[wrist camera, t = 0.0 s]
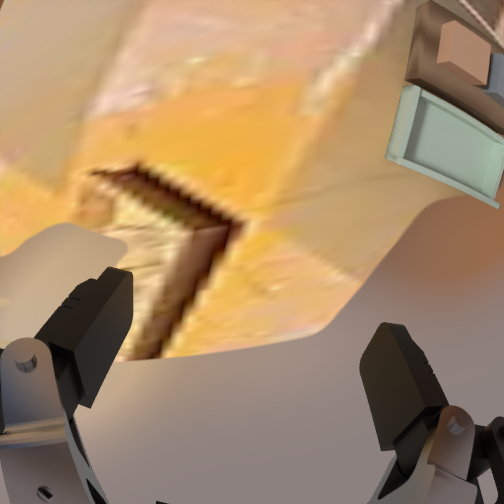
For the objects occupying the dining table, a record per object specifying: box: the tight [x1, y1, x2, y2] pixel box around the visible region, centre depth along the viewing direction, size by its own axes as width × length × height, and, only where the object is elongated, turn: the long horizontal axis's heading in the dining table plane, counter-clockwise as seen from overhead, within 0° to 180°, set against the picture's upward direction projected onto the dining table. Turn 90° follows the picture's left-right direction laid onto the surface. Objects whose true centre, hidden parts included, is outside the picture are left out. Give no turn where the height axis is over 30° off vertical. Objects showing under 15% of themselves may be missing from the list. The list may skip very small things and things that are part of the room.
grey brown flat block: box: [405, 0, 504, 134], centre depth 26 cm, size 12×18×4 cm, turn 78°
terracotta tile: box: [437, 20, 491, 85], centre depth 22 cm, size 6×6×3 cm
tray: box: [385, 85, 504, 209], centre depth 30 cm, size 10×18×5 cm, turn 78°
